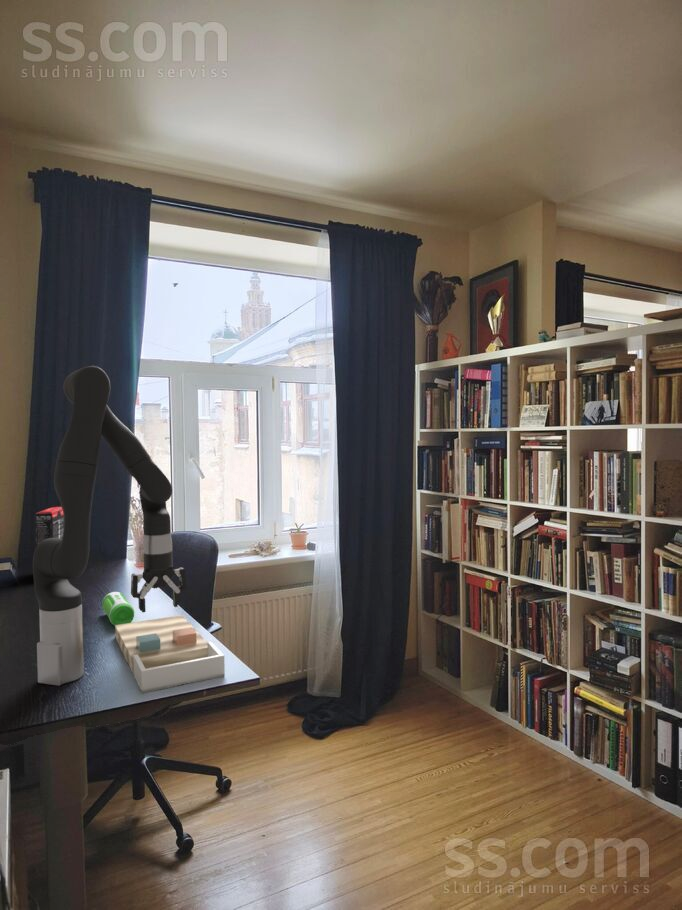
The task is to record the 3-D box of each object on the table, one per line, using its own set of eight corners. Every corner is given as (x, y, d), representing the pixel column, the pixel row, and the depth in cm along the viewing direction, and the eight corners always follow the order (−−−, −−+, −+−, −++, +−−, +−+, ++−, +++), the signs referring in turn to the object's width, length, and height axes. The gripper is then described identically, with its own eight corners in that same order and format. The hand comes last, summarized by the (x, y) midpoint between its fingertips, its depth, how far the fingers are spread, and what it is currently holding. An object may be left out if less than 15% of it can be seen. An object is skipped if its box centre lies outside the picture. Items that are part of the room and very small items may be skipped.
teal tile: (160, 648, 150) (160, 639, 150) (139, 652, 148) (139, 642, 148) (156, 642, 155) (156, 633, 155) (136, 646, 152) (136, 636, 152)
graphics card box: (48, 571, 248) (46, 506, 247) (66, 570, 249) (64, 506, 248) (35, 582, 231) (33, 512, 230) (54, 581, 232) (52, 511, 231)
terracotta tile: (196, 642, 155) (196, 632, 155) (177, 645, 152) (177, 636, 152) (191, 636, 159) (191, 627, 159) (172, 639, 157) (172, 630, 157)
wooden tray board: (211, 660, 152) (211, 646, 152) (133, 675, 143) (133, 661, 143) (182, 626, 178) (182, 614, 178) (115, 637, 169) (115, 625, 169)
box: (224, 675, 142) (224, 655, 142) (142, 693, 133) (141, 671, 133) (211, 660, 152) (211, 641, 152) (133, 675, 143) (133, 655, 142)
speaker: (136, 626, 178) (135, 602, 178) (110, 631, 175) (109, 605, 174) (125, 611, 194) (124, 588, 193) (101, 615, 190) (101, 591, 190)
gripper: (133, 556, 153) (135, 617, 154) (187, 549, 160) (189, 608, 161) (127, 550, 160) (129, 609, 161) (180, 544, 167) (182, 601, 168)
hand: (159, 608), depth 161 cm, fingers open, 8 cm apart
